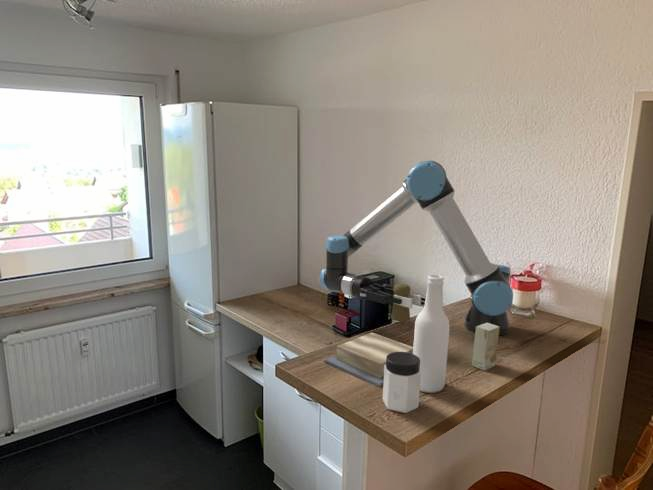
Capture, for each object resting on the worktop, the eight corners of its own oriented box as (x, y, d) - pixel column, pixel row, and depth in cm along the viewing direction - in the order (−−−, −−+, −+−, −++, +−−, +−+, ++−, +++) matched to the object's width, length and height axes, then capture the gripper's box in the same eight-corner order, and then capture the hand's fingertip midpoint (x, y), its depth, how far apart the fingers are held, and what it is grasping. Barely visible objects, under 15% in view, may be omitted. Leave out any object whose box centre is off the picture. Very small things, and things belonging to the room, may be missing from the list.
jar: (378, 407, 119) (380, 361, 117) (386, 392, 127) (389, 348, 124) (414, 416, 116) (418, 368, 114) (421, 400, 124) (424, 355, 121)
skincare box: (484, 371, 141) (488, 330, 138) (471, 366, 144) (474, 326, 141) (496, 365, 145) (500, 326, 142) (483, 360, 148) (486, 321, 146)
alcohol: (409, 376, 136) (417, 271, 130) (442, 379, 135) (451, 273, 129) (411, 392, 127) (419, 280, 121) (446, 395, 126) (456, 282, 120)
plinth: (371, 342, 159) (372, 328, 158) (425, 362, 145) (426, 347, 144) (324, 362, 143) (324, 346, 142) (378, 386, 130) (379, 369, 129)
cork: (394, 313, 160) (395, 280, 158) (412, 316, 157) (414, 283, 155) (388, 319, 154) (389, 285, 152) (406, 322, 152) (408, 288, 150)
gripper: (373, 292, 174) (430, 307, 158) (340, 302, 161) (398, 320, 146) (373, 271, 172) (431, 285, 156) (340, 280, 160) (400, 295, 144)
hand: (415, 302), depth 151 cm, fingers closed on cork, 4 cm apart
